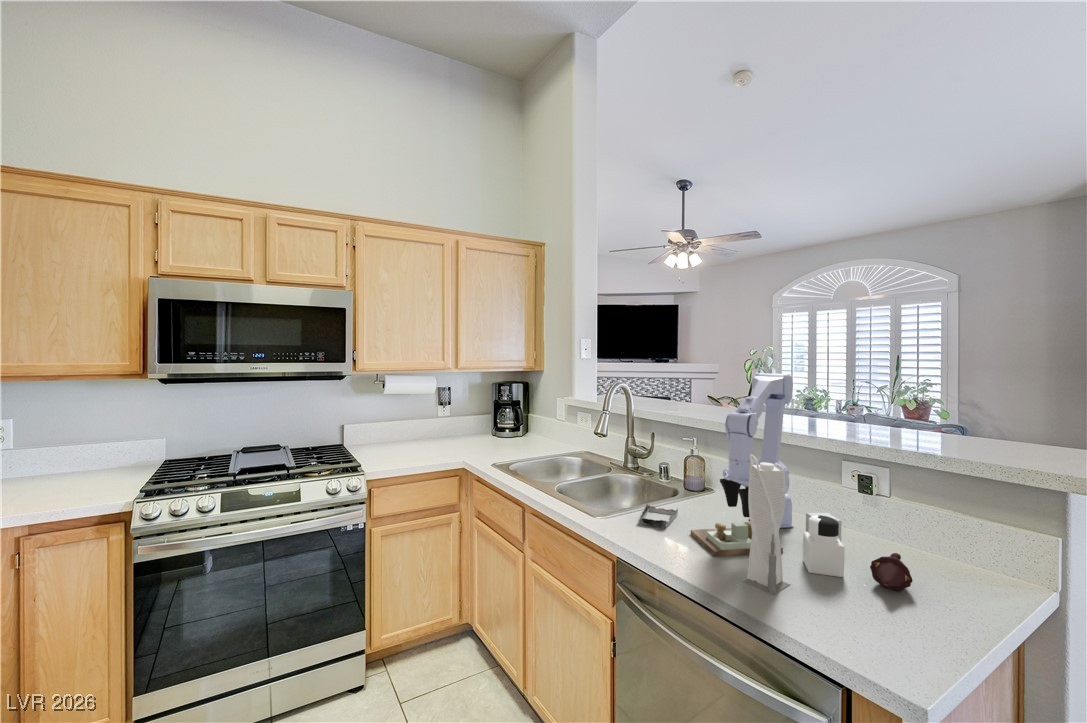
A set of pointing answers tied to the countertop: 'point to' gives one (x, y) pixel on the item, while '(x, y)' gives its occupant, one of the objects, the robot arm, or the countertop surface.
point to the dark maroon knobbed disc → (891, 572)
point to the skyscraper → (766, 526)
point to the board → (720, 528)
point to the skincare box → (822, 515)
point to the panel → (732, 537)
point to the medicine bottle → (823, 547)
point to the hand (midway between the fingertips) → (739, 511)
